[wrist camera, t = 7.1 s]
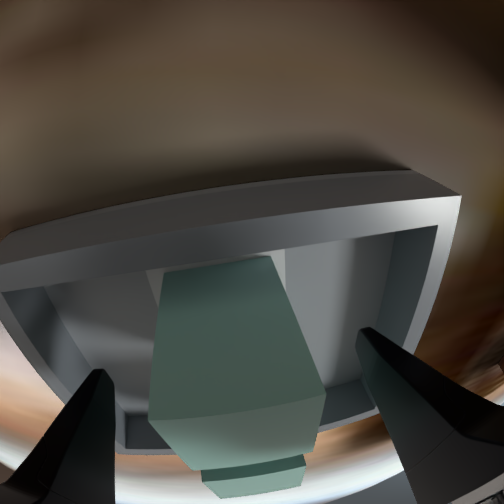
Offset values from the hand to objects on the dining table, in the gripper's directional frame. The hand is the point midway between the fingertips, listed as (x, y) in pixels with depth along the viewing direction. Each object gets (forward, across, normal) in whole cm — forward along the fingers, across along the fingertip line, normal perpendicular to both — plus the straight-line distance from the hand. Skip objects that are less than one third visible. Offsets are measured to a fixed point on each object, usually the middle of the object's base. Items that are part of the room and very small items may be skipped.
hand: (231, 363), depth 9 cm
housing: (+4, 0, +2) cm, 4 cm away
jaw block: (+3, 0, 0) cm, 3 cm away
